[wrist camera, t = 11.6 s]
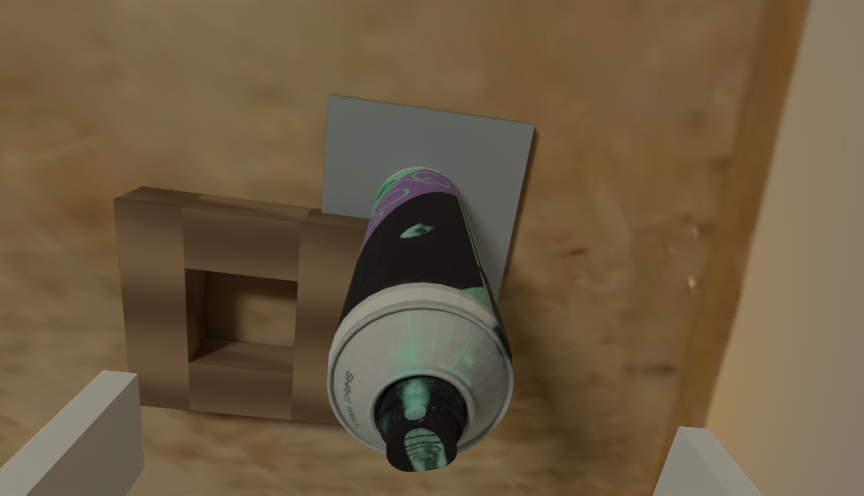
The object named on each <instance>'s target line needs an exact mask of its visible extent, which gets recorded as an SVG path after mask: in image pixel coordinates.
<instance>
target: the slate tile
mask: <svg viewBox="0 0 864 496" xmlns="http://www.w3.org/2000/svg"><path fill="white" fill-rule="evenodd" d="M534 127H535V125H534V124H531V123H524V122H517V121H510V120H503V119H497V118H490V117H483V116H476V115H469V114H462V113H455V112H449V111H442V110H435V109H428V108H421V107H414V106H407V105H401V104H394V103H387V102H380V101H373V100H366V99H359V98H352V97H346V96H339V95H332V94H330V95H329V99H328V115H327V130H326V146H325V161H324V176H323V192H322V207H321V212H322V213H330V214H337V215H345V216H353V217H361V218H369V219H370V217H371V214H372V210H373V207H374V204H375V200H376V197H377V194H378V192H379V190H380V189H381V187H382V185H383V184H384V183H385V181H386V180H387V179H388V178H389V177H391V176H392V175H393V174H394V173H396V172H398V171H400V170H402V169H406V168H409V167H417V166H422V167H429V168H432V169H435V170H438V171H440V172H441V173H443V174H445V175H446V176H447V177H448V178H450V179H451V180H452V182H453V183H454V184H455V185H456V187H457V188H458V190H459V192H460V194H461V197H462V200H463V203H464V206H465V209H466V212H467V215H468V218H469V221H470V224H471V228H472V231H473V234H474V237H475V240H476V243H477V246H478V249H479V252H480V255H481V258H482V262H483V265H484V268H485V271H486V274H487V277H488V280H489V283H490V286H491V289H492V292H493V296H494V299H495V302H496V305H497V301H498V297H499V292H500V287H501V282H502V278H503V273H504V268H505V264H506V259H507V254H508V249H509V245H510V240H511V235H512V230H513V226H514V221H515V216H516V212H517V207H518V202H519V197H520V193H521V188H522V183H523V179H524V174H525V169H526V164H527V160H528V155H529V150H530V146H531V141H532V136H533V131H534Z"/></svg>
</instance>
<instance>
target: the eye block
mask: <svg viewBox="0 0 864 496" xmlns="http://www.w3.org/2000/svg"><path fill="white" fill-rule="evenodd" d="M114 210H115V221H116V232H117V244H118V255H119V266H120V277H121V288H122V299H123V310H124V321H125V332H126V343H127V354H128V365H129V373H137V374H138V383H139V397H140V406H150V407H160V408H171V409H181V410H191V411H202V412H212V413H222V414H233V415H243V416H253V417H264V418H274V419H285V420H295V421H305V422H316V423H326V424H336V425H341V423H340V422H339V420H338V419H337V418H336V416H335V414H334V411H333V409H332V407H331V404H330V402H329V396H328V391H327V377H328V361H329V353H330V349H331V346H332V343H333V339H334V336H335V333H336V329H337V326H338V323H339V320H340V316H341V313H342V310H343V306H344V303H345V300H346V296H347V293H348V290H349V286H350V283H351V280H352V276H353V273H354V270H355V267H356V263H357V260H358V257H359V253H360V250H361V247H362V243H363V240H364V237H365V233H366V230H367V227H368V224H369V220H370V219H369V218H361V217H353V216H345V215H337V214H330V213H322V212H321V209H314V208H306V207H298V206H290V205H283V204H275V203H267V202H259V201H251V200H244V199H236V198H228V197H220V196H213V195H205V194H197V193H189V192H181V191H174V190H166V189H158V188H150V187H140V188H138V189H135V190H133V191H131V192H129V193H126V194H124V195H122V196H120V197H117V198H115V199H114ZM206 271H213V272H222V273H230V274H239V275H247V276H256V277H264V278H273V279H281V280H290V281H298V290H297V310H296V330H295V347H286V346H276V345H267V344H258V343H248V342H239V341H230V340H220V339H211V338H207V298H206Z"/></svg>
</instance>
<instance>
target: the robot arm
mask: <svg viewBox="0 0 864 496" xmlns="http://www.w3.org/2000/svg"><path fill="white" fill-rule="evenodd" d="M143 469H144V453H143V439H142V425H141V411H140V397H139V383H138V374H137V373H126V372H116V371H106V370H103V371H102V372H101V373H100V374H99V375H98V376H97V377H96V378H94V379H93V380H92V381H91V382H90V383H89V384H88V385H87V386H86V387H85V388H84V389H83V390H82V391H81V392H80V393H79V394H78V395H77V396H76V397H75V398H74V399H73V400H71V401H70V402H69V403H68V404H67V405H66V406H65V407H64V408H63V409H62V410H61V411H60V412H59V413H58V414H57V415H56V416H55V417H54V418H53V419H52V420H51V421H49V422H48V423H47V424H46V425H45V426H44V427H43V428H42V429H41V430H40V431H39V432H38V433H37V434H36V435H35V436H34V437H33V438H32V439H31V440H30V441H29V442H27V443H26V444H25V445H24V446H23V447H22V448H21V449H20V450H19V451H18V452H17V453H16V454H15V455H14V456H13V457H12V458H11V459H10V460H9V461H8V462H7V463H5V464H4V465H3V466H2V467H1V468H0V496H125V495H126V494H127V492H128V491H129V489H130V488H131V486H132V485H133V483H134V482H135V481H136V479H137V478H138V476H139V475H140V473H141V472H142V470H143ZM653 496H762V494H761V493H760V492H759V491H758V490H757V488H756V487H755V486H754V485H753V483H752V482H751V481H750V480H749V478H748V477H747V476H746V475H745V474H744V473H743V471H742V470H741V469H740V468H739V466H738V465H737V464H736V463H735V461H734V460H733V459H732V458H731V457H730V455H729V454H728V453H727V452H726V451H725V450H724V448H723V447H722V446H721V444H720V443H719V442H718V441H717V440H716V438H715V437H714V436H713V435H712V433H711V432H710V431H709V430H708V429H702V428H691V427H681V426H679V428H678V431H677V433H676V436H675V438H674V441H673V444H672V446H671V449H670V452H669V454H668V457H667V459H666V462H665V465H664V467H663V470H662V473H661V475H660V478H659V480H658V483H657V486H656V488H655V491H654V494H653Z"/></svg>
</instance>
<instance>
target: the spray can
mask: <svg viewBox="0 0 864 496" xmlns="http://www.w3.org/2000/svg"><path fill="white" fill-rule="evenodd" d="M513 389H514V378H513V369H512V354H511V350H510V346H509V342H508V339H507V336H506V333H505V330H504V326H503V323H502V320H501V317H500V314H499V311H498V308H497V305H496V302H495V299H494V296H493V292H492V289H491V286H490V283H489V280H488V277H487V274H486V271H485V268H484V265H483V262H482V258H481V255H480V252H479V249H478V246H477V243H476V240H475V237H474V234H473V231H472V228H471V224H470V221H469V218H468V215H467V212H466V209H465V206H464V203H463V200H462V197H461V194H460V192H459V190H458V188H457V187H456V185H455V184H454V183H453V182H452V180H451V179H450V178H448V177H447V176H446V175H445V174H443V173H441V172H440V171H438V170H435V169H432V168H429V167H422V166H417V167H409V168H406V169H402V170H400V171H398V172H396V173H394V174H393V175H392V176H391V177H389V178H388V179H387V180H386V181H385V183H384V184H383V185H382V187H381V189H380V190H379V192H378V194H377V197H376V200H375V204H374V207H373V210H372V214H371V217H370V220H369V224H368V227H367V230H366V233H365V237H364V240H363V243H362V247H361V250H360V253H359V257H358V260H357V263H356V267H355V270H354V273H353V276H352V280H351V283H350V286H349V290H348V293H347V296H346V300H345V303H344V306H343V310H342V313H341V316H340V320H339V323H338V326H337V329H336V333H335V336H334V339H333V343H332V346H331V349H330V353H329V361H328V377H327V391H328V396H329V402H330V404H331V407H332V409H333V411H334V414H335V416H336V418H337V419H338V420H339V422H340V423H341V425H342V426H343V427H344V429H345V430H346V431H347V432H348V433H350V434H351V435H352V436H353V437H354V438H355V439H356V440H357V441H359V442H361V443H362V444H364V445H365V446H367V447H368V448H370V449H372V450H375V451H377V452H379V453H382V454H384V455H387V459H388V461H389V463H390V464H391V465H392V466H393V467H395V468H396V469H398V470H401V471H405V472H419V471H428V470H433V469H438V468H441V467H444V466H447V465H448V464H450V463H451V462H452V461H453V460H454V459H455V457H456V455H457V453H459V452H462V451H464V450H467V449H469V448H470V447H472V446H474V445H475V444H477V443H478V442H480V441H482V440H483V439H484V438H485V437H486V436H487V435H489V434H490V433H491V432H492V431H493V430H494V429H495V428H496V426H497V425H498V424H499V423H500V421H501V420H502V419H503V417H504V415H505V413H506V411H507V409H508V407H509V405H510V402H511V398H512V393H513Z"/></svg>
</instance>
